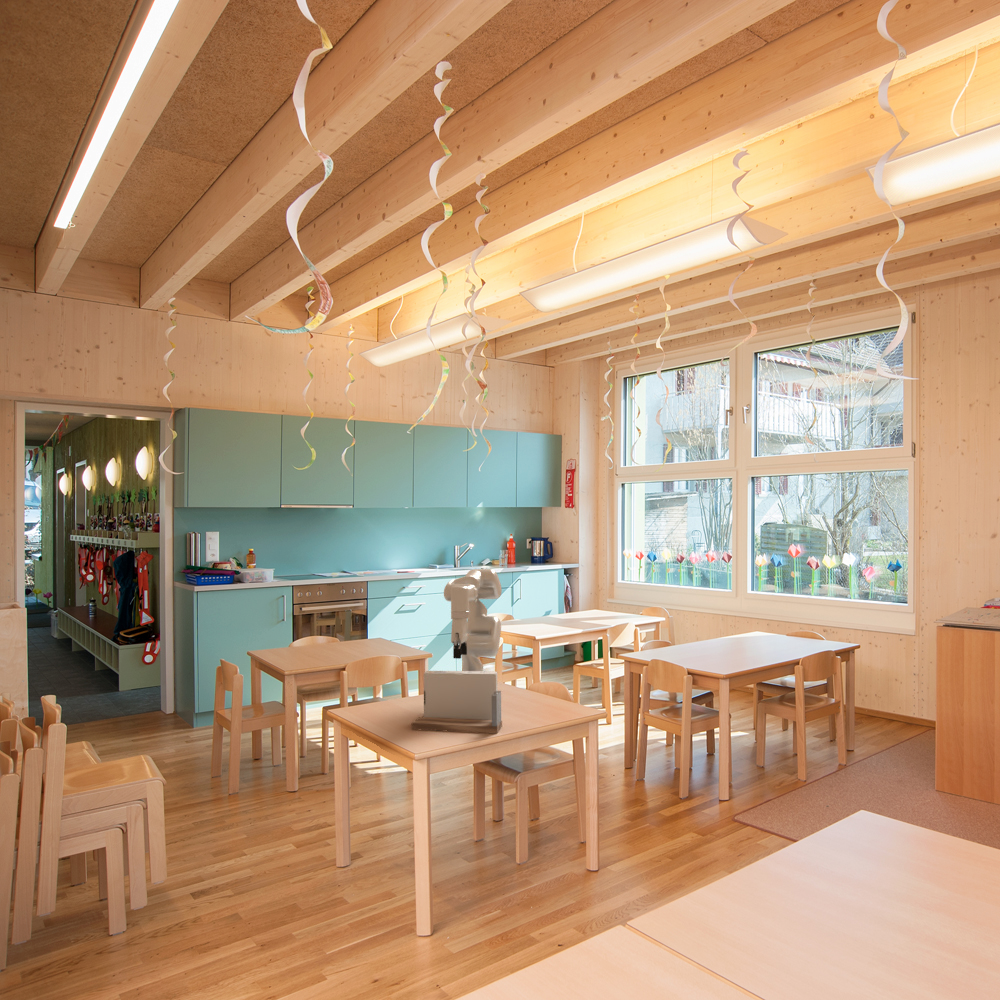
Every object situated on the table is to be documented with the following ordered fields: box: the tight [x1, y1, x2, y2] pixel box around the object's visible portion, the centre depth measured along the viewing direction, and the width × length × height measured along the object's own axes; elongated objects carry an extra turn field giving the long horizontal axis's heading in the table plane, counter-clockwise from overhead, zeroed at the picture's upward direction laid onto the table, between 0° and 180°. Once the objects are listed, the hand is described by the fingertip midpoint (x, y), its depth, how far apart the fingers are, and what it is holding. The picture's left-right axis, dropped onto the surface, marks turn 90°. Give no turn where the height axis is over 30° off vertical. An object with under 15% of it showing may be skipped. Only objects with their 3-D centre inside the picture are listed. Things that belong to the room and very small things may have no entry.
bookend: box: [492, 690, 502, 727], centre depth 306 cm, size 9×2×12 cm, turn 169°
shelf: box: [411, 716, 503, 734], centre depth 309 cm, size 10×35×2 cm, turn 79°
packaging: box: [423, 670, 499, 720], centre depth 322 cm, size 30×6×20 cm, turn 84°
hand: (460, 656), depth 322 cm, fingers open, 9 cm apart
